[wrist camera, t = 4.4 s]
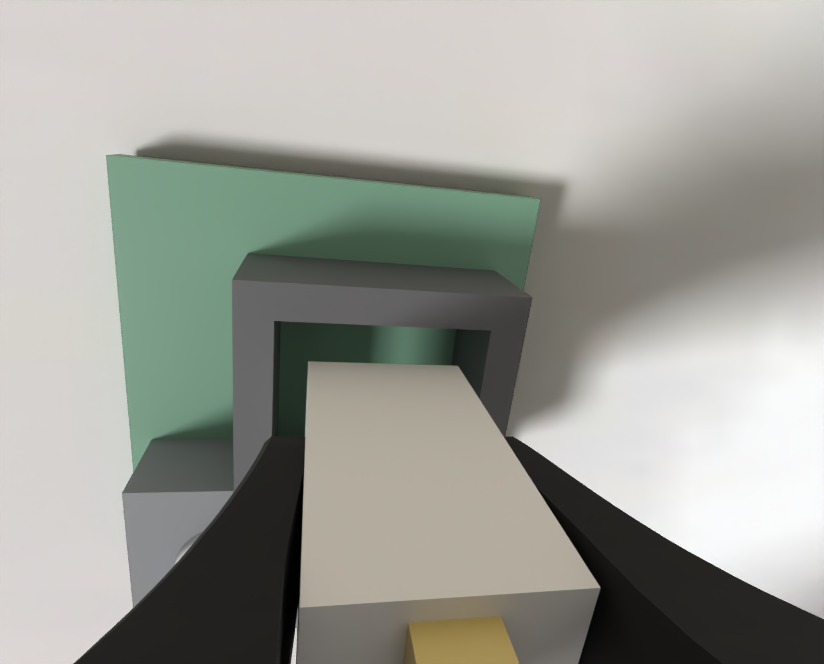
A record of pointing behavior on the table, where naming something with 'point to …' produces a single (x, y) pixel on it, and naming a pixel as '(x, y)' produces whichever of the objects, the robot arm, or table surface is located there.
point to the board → (289, 315)
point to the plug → (427, 530)
